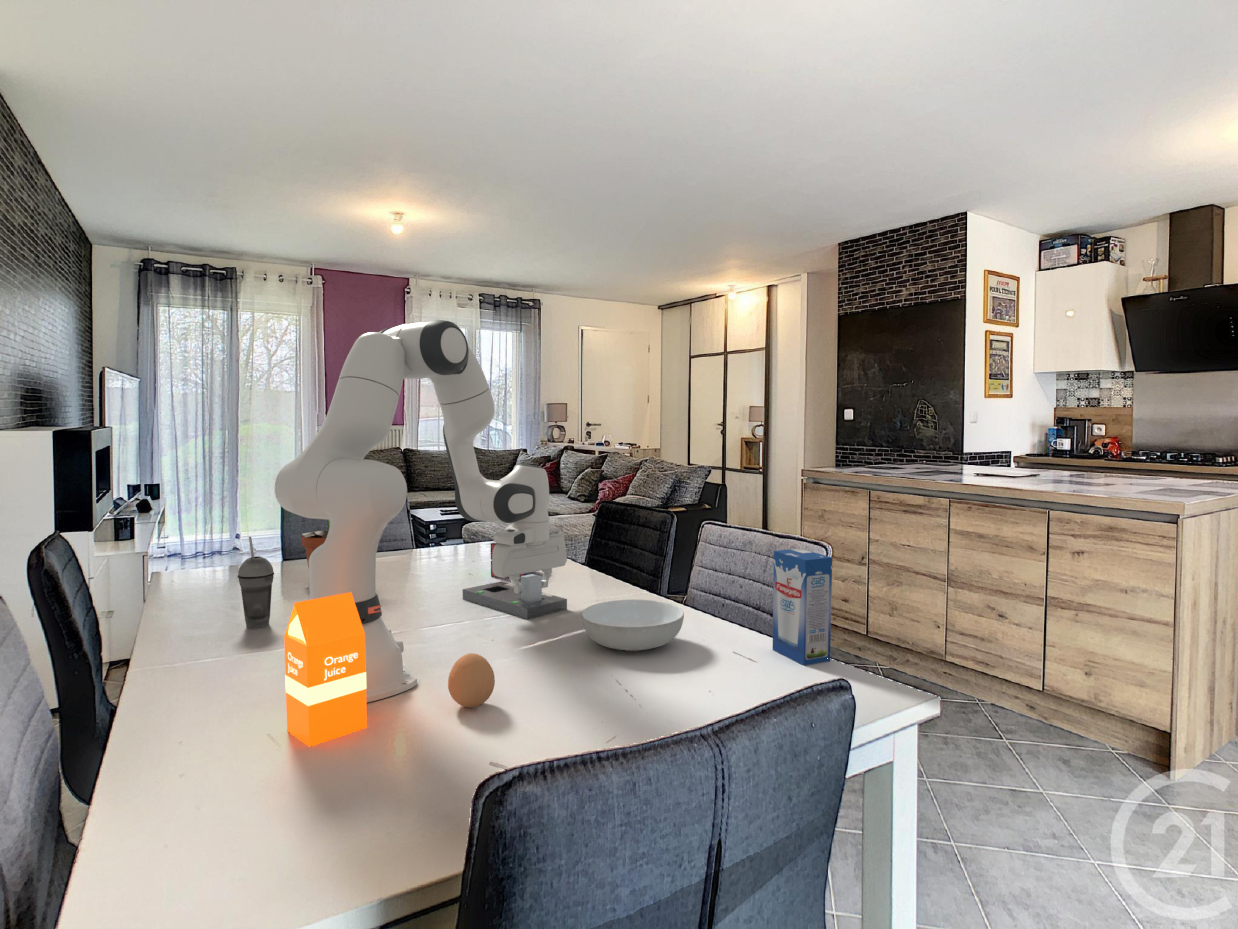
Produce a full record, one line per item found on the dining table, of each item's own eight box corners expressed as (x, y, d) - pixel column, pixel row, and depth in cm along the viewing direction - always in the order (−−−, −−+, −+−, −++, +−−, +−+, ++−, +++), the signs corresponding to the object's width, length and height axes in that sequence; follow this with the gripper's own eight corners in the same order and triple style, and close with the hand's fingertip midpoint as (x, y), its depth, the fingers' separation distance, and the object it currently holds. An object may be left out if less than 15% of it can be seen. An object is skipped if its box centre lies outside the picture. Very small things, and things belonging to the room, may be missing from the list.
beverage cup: (260, 632, 155) (257, 540, 154) (231, 630, 156) (228, 539, 155) (283, 622, 162) (280, 534, 161) (254, 620, 164) (251, 533, 162)
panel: (567, 611, 172) (567, 598, 171) (527, 621, 163) (527, 607, 163) (501, 592, 190) (501, 580, 189) (462, 601, 181) (462, 588, 181)
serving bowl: (631, 623, 162) (631, 593, 161) (704, 644, 147) (704, 611, 146) (560, 644, 147) (560, 611, 147) (633, 670, 132) (633, 633, 132)
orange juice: (286, 731, 106) (282, 598, 105) (343, 713, 113) (340, 587, 111) (309, 748, 101) (305, 608, 100) (368, 728, 107) (365, 596, 106)
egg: (453, 718, 111) (452, 664, 110) (444, 701, 118) (443, 650, 117) (500, 710, 114) (499, 658, 113) (489, 694, 120) (488, 644, 120)
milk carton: (772, 649, 143) (773, 550, 142) (797, 646, 146) (799, 548, 145) (803, 665, 134) (805, 560, 133) (830, 661, 137) (832, 557, 135)
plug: (541, 609, 171) (541, 576, 171) (530, 612, 169) (530, 578, 168) (530, 606, 174) (530, 573, 174) (519, 608, 172) (518, 575, 171)
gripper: (555, 526, 180) (555, 580, 181) (487, 535, 165) (488, 595, 166) (572, 529, 175) (572, 584, 176) (504, 539, 161) (505, 600, 162)
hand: (531, 590), depth 171 cm, fingers open, 6 cm apart
